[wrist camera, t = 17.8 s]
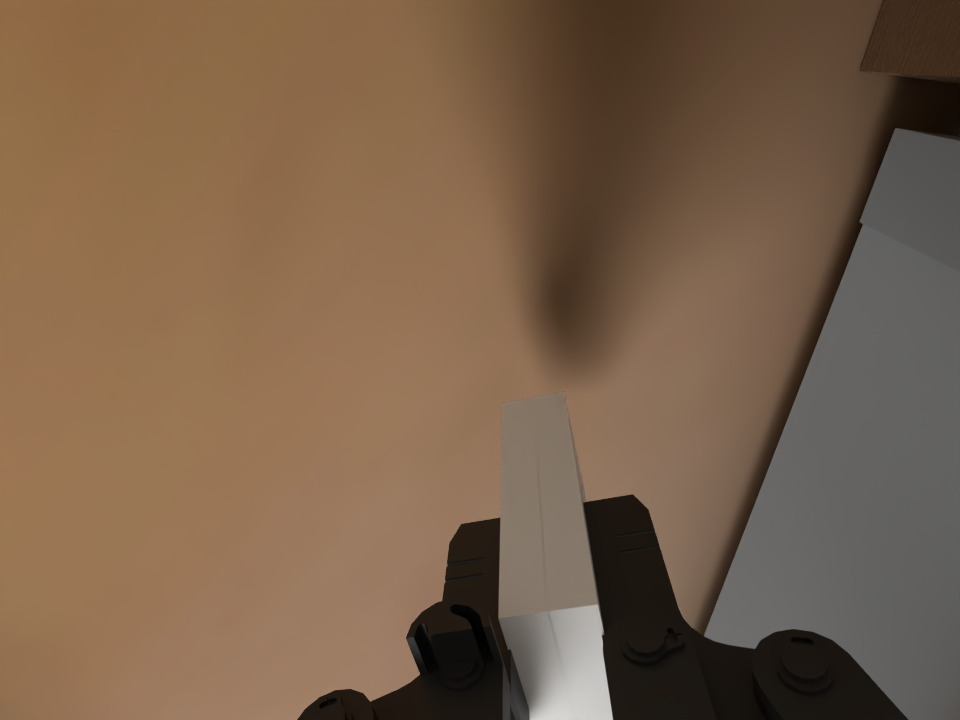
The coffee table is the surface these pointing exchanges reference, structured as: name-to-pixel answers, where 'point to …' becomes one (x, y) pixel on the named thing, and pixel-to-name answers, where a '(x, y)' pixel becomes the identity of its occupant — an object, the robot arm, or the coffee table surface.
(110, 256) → the coffee table surface
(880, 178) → the gate
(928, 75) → the latch post
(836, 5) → the coffee table surface
